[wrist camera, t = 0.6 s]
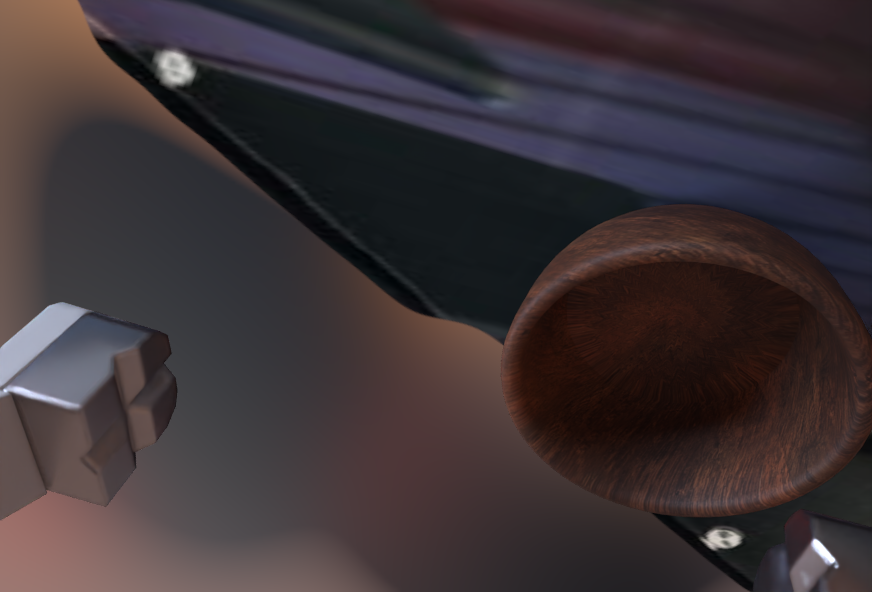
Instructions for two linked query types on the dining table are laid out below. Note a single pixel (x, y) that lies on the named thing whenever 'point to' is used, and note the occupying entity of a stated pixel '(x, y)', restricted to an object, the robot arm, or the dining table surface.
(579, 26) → the dining table surface
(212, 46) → the dining table surface
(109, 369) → the robot arm
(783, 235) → the wooden bowl
